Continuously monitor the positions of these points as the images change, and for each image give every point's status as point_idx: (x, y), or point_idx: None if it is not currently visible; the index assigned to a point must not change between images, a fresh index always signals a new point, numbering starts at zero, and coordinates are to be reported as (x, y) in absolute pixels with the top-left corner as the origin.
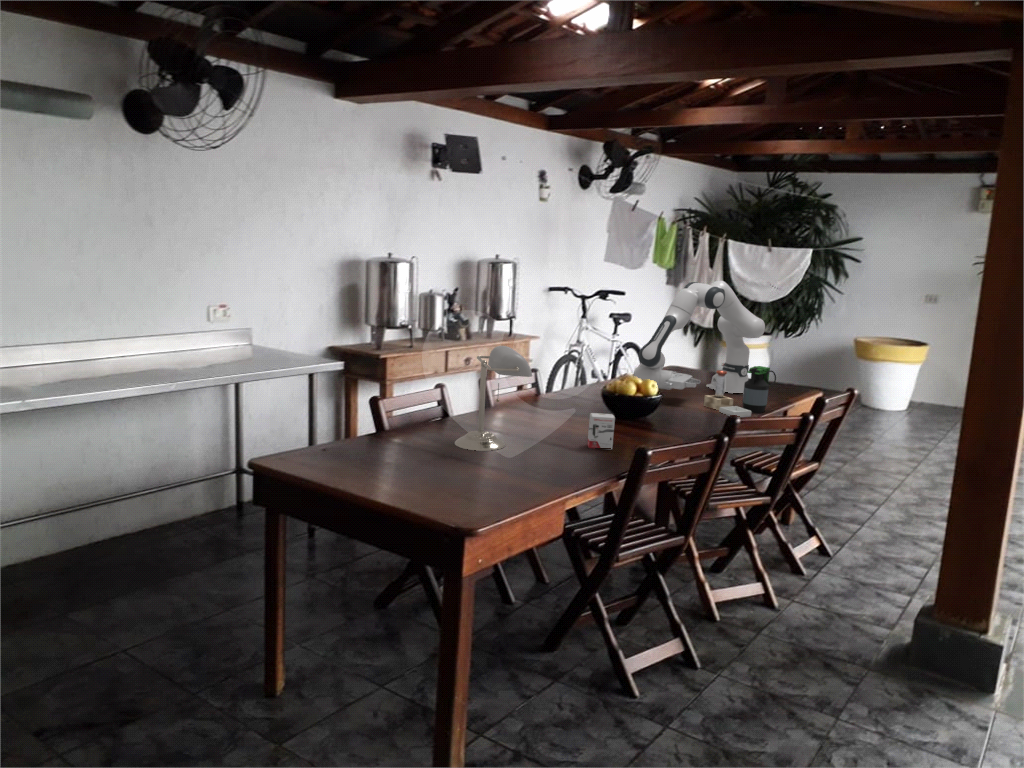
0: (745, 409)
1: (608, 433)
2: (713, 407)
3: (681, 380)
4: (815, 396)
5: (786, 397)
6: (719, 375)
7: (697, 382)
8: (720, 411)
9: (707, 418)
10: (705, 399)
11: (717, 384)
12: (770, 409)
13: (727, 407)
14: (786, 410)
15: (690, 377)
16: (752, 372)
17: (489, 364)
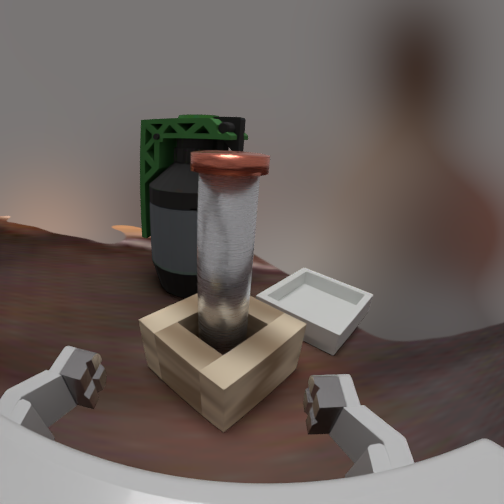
0: (295, 277)
1: None
2: (282, 375)
3: (455, 494)
4: (8, 216)
5: (8, 235)
6: (257, 187)
7: (93, 385)
8: (338, 345)
9: (459, 359)
10: (232, 399)
11: (247, 257)
12: (149, 255)
13: (308, 316)
14: (147, 238)
15: (9, 419)
16: (241, 135)
17: None
